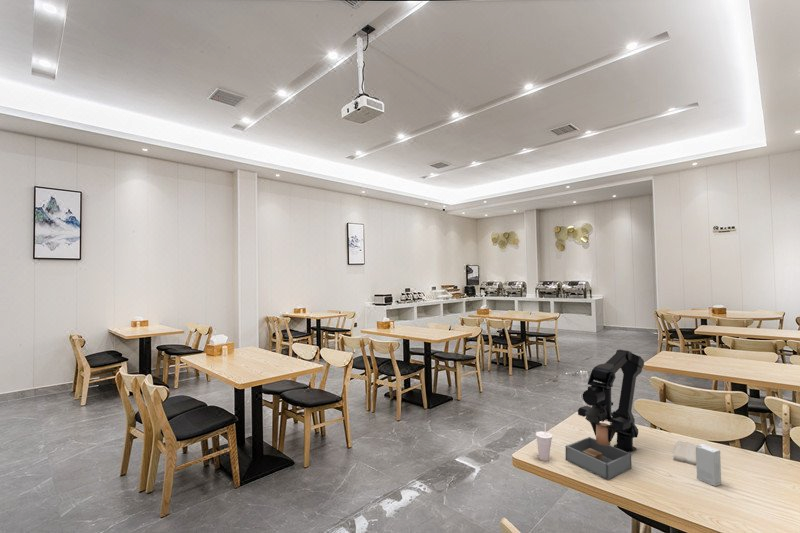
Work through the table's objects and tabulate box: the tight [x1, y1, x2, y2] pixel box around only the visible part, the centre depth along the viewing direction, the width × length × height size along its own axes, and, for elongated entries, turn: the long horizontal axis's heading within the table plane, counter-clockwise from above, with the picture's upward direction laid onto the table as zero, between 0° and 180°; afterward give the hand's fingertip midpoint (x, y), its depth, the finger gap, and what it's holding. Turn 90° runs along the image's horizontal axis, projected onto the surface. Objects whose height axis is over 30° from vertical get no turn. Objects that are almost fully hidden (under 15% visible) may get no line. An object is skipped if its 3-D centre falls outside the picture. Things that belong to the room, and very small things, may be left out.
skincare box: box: [695, 443, 722, 487], centre depth 144 cm, size 6×4×12 cm
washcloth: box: [673, 440, 697, 466], centre depth 162 cm, size 12×18×3 cm, turn 142°
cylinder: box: [595, 422, 611, 446], centre depth 158 cm, size 5×5×7 cm
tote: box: [565, 436, 632, 481], centre depth 156 cm, size 15×17×6 cm
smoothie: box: [535, 423, 553, 462], centre depth 161 cm, size 6×6×14 cm
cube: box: [582, 448, 602, 461], centre depth 155 cm, size 5×5×5 cm
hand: (603, 439), depth 158 cm, fingers closed on cylinder, 5 cm apart
